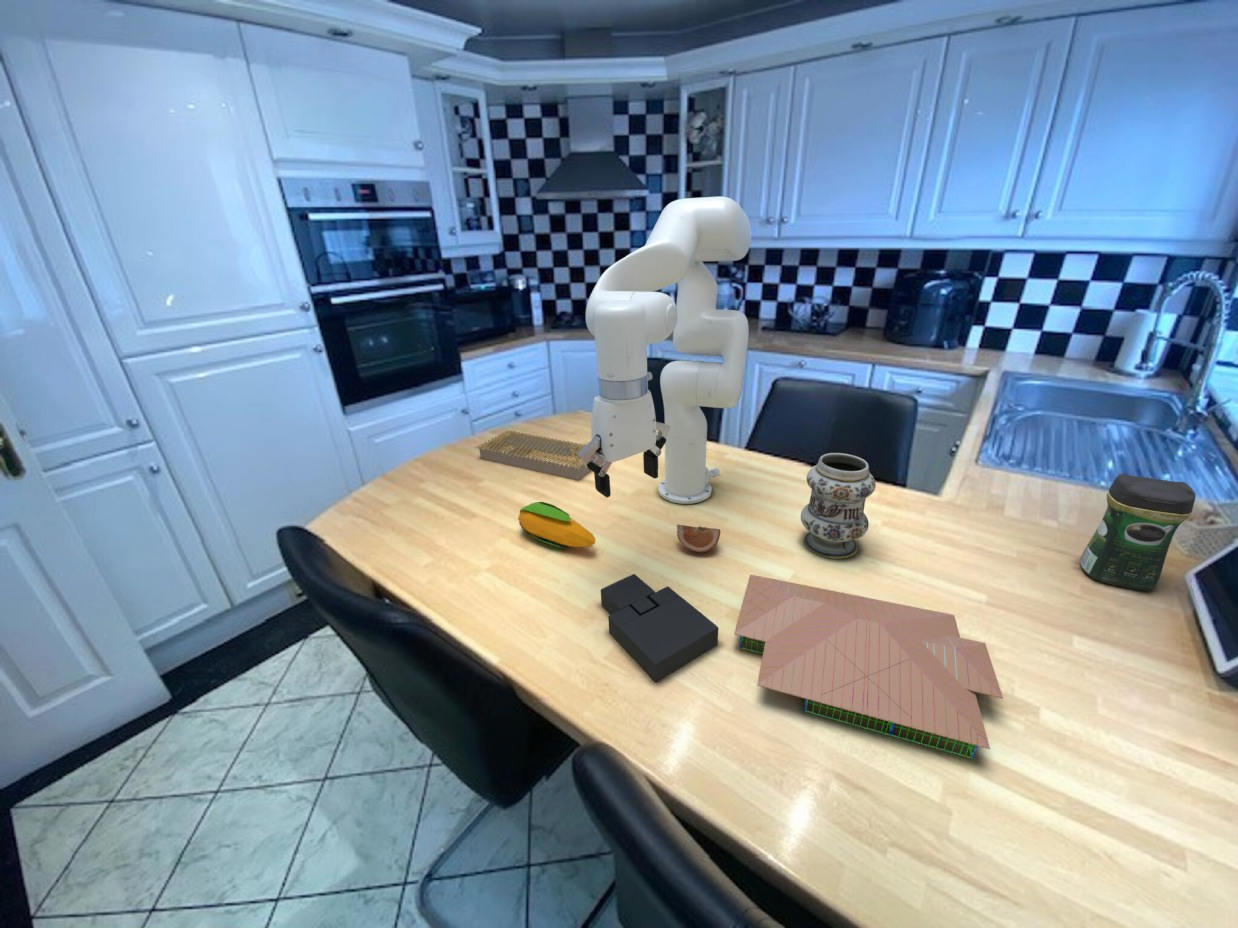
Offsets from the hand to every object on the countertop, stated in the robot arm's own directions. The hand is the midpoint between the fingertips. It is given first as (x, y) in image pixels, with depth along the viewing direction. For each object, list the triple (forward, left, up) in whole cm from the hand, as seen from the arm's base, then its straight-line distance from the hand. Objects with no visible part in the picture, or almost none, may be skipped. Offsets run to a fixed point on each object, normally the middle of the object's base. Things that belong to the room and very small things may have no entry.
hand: (628, 484), depth 84 cm
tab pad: (+5, +7, -19) cm, 21 cm away
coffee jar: (-67, +50, -20) cm, 86 cm away
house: (-14, +35, -20) cm, 43 cm away
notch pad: (+5, +15, -19) cm, 25 cm away
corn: (+5, -19, -20) cm, 28 cm away
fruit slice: (-16, 0, -20) cm, 25 cm away
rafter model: (-10, -58, -20) cm, 62 cm away
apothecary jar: (-37, +15, -20) cm, 45 cm away
